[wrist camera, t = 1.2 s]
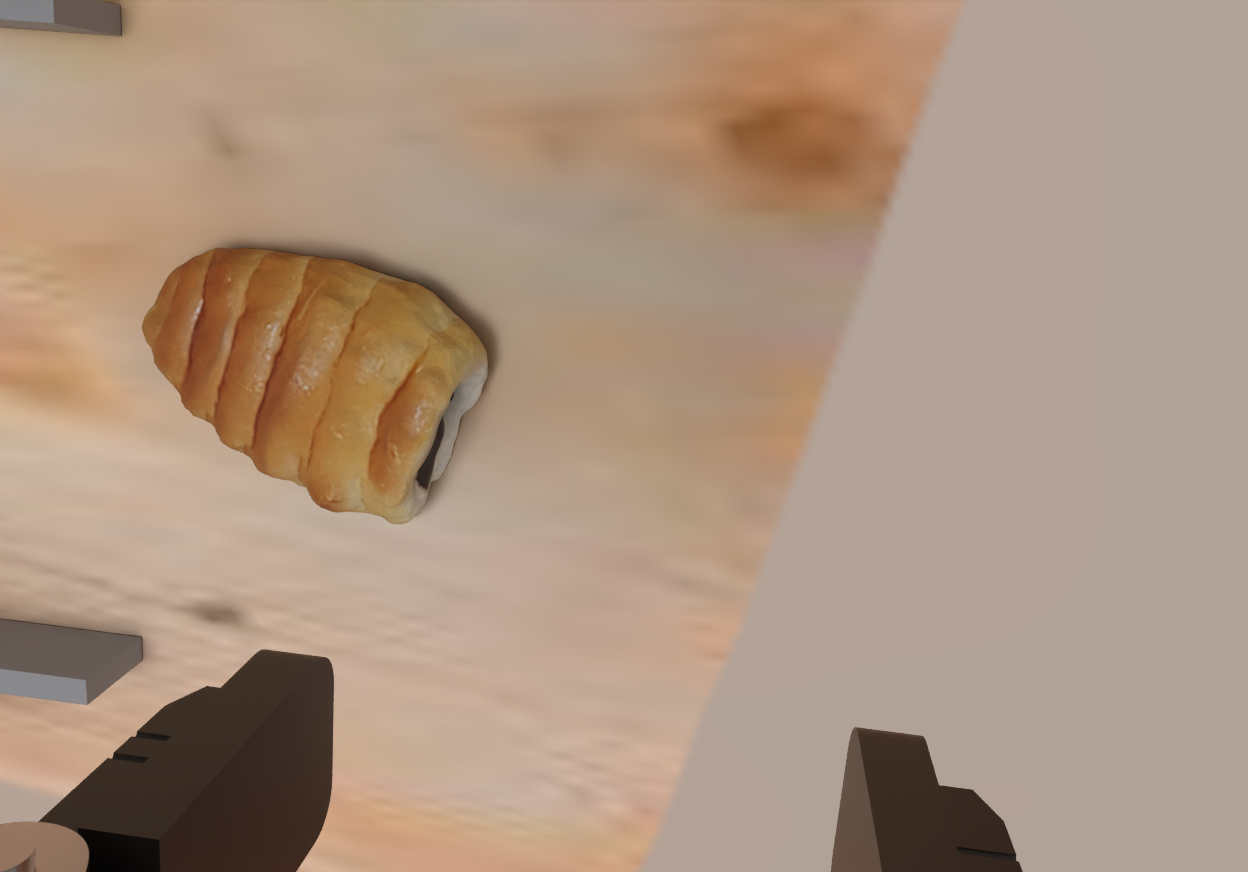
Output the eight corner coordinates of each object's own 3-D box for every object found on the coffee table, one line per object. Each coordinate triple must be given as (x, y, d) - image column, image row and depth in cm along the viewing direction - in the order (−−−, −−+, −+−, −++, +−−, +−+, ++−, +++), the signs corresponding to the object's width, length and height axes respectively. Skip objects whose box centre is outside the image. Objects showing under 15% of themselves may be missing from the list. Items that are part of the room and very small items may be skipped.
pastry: (148, 396, 33) (73, 425, 29) (214, 184, 31) (142, 187, 28) (434, 523, 33) (393, 568, 29) (516, 318, 31) (484, 338, 28)
